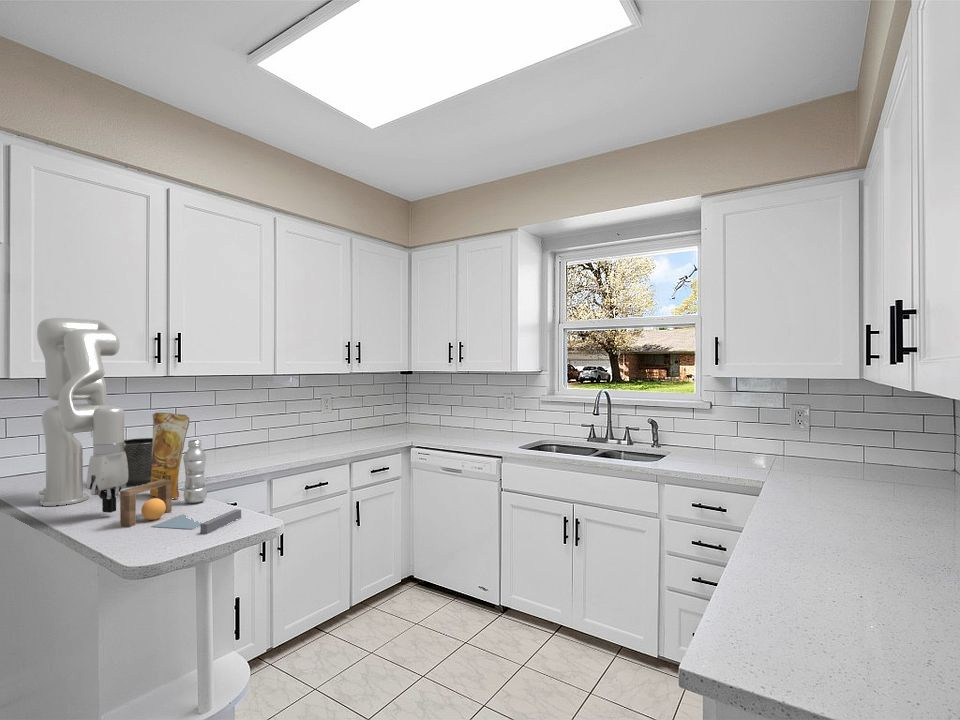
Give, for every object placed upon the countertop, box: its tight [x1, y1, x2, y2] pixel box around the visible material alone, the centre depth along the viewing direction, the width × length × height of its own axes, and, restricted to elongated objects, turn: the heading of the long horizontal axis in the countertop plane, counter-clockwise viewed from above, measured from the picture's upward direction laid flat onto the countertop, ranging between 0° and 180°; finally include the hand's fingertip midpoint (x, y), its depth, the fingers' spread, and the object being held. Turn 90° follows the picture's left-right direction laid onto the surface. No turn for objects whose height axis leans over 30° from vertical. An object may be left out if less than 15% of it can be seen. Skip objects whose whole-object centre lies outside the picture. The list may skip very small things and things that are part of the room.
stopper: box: [199, 509, 242, 535], centre depth 146 cm, size 2×14×2 cm, turn 169°
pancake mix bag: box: [149, 412, 190, 500], centre depth 179 cm, size 7×19×28 cm, turn 57°
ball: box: [140, 497, 166, 521], centre depth 152 cm, size 6×6×6 cm
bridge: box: [119, 479, 173, 528], centre depth 153 cm, size 3×15×10 cm, turn 169°
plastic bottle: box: [182, 439, 208, 504], centre depth 170 cm, size 6×7×20 cm
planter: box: [124, 437, 153, 487], centre depth 198 cm, size 17×17×16 cm
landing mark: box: [151, 513, 201, 530], centre depth 150 cm, size 13×13×1 cm
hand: (109, 511), depth 155 cm, fingers closed
